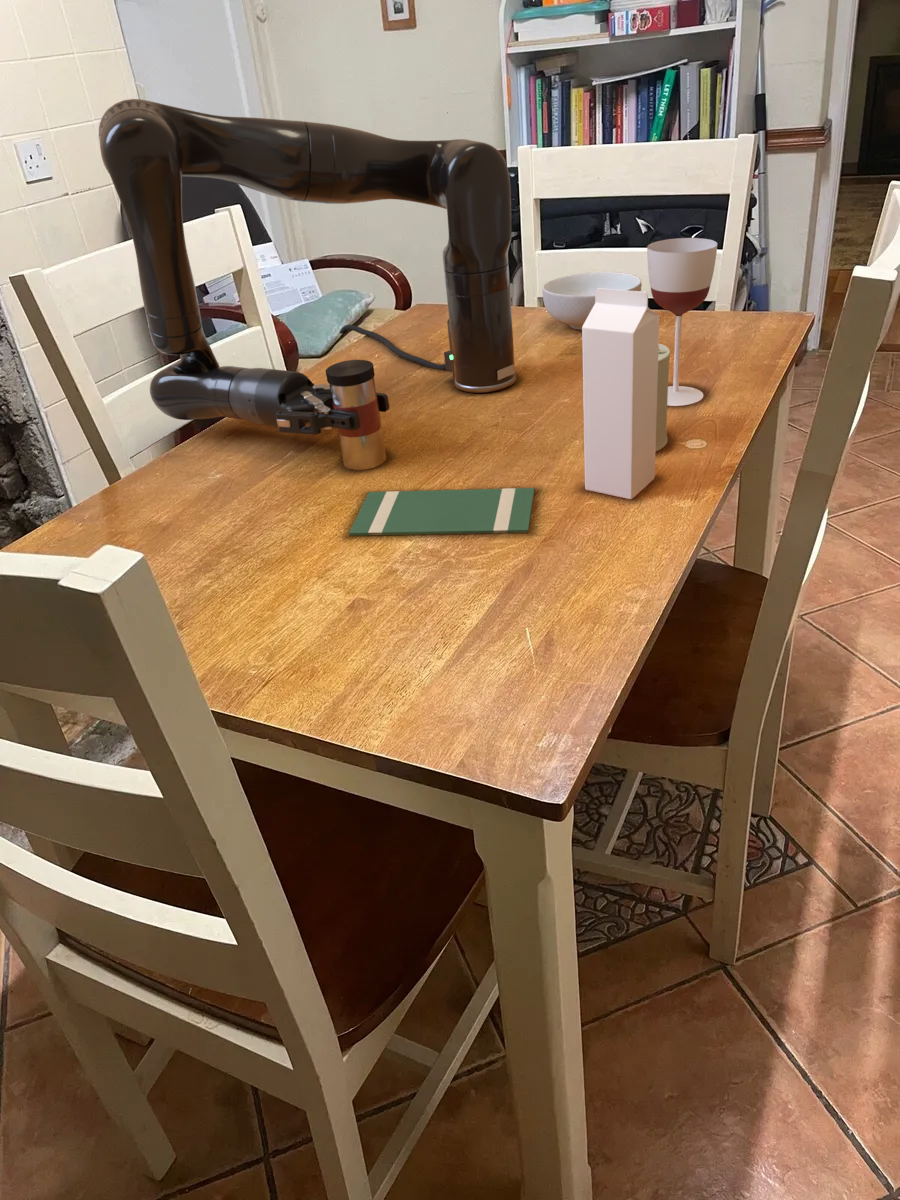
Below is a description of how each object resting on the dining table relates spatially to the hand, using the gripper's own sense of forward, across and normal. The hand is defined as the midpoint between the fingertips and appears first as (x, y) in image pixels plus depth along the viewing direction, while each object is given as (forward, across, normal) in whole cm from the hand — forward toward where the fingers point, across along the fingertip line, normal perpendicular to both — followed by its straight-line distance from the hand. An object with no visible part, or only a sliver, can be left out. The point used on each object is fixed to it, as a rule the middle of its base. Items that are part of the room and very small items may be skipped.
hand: (372, 412), depth 109 cm
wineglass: (+28, +33, +7) cm, 44 cm away
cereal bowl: (+2, +61, +7) cm, 62 cm away
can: (+28, +16, +7) cm, 33 cm away
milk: (+31, +5, +7) cm, 32 cm away
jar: (-2, 0, +7) cm, 7 cm away
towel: (+15, -9, +7) cm, 19 cm away
